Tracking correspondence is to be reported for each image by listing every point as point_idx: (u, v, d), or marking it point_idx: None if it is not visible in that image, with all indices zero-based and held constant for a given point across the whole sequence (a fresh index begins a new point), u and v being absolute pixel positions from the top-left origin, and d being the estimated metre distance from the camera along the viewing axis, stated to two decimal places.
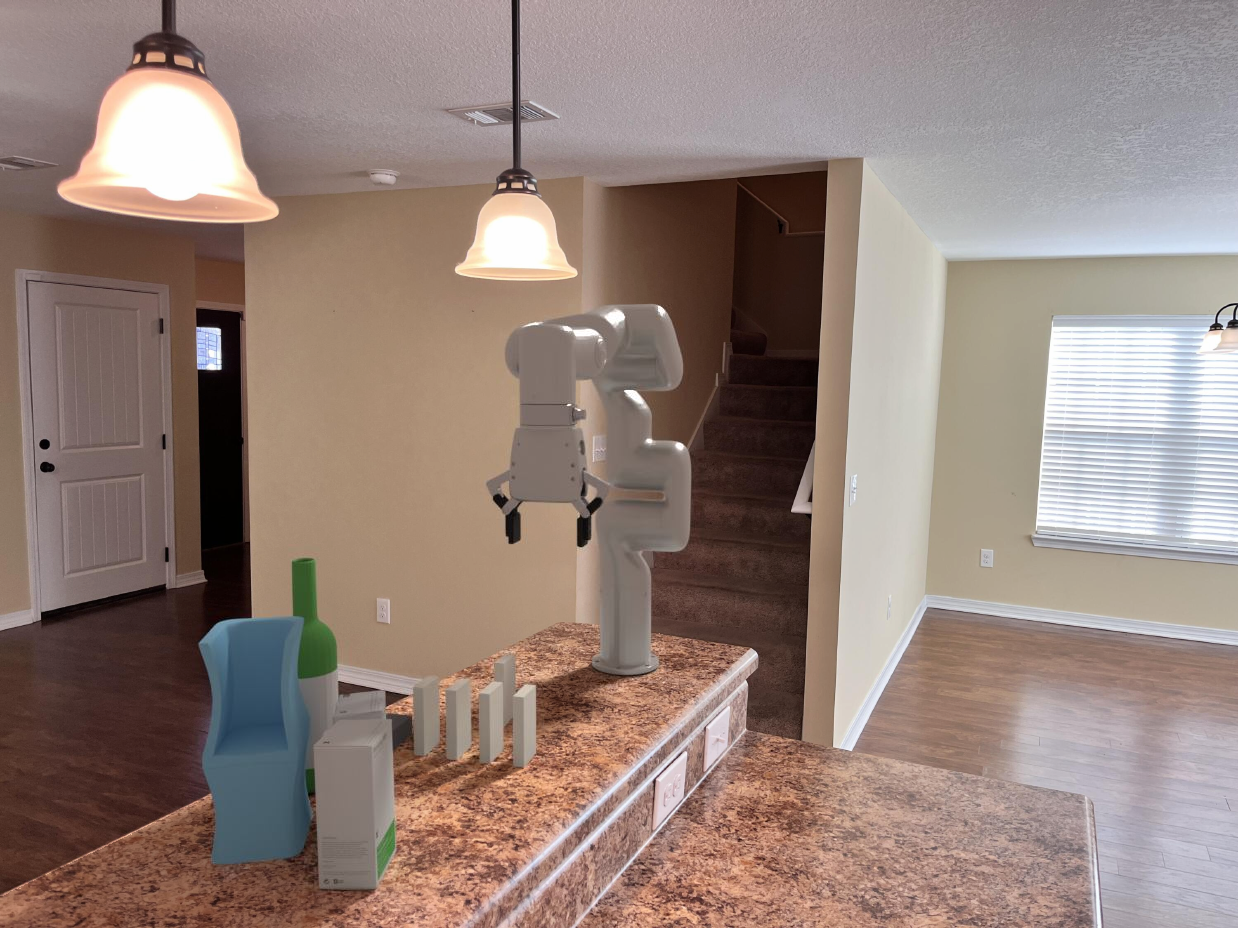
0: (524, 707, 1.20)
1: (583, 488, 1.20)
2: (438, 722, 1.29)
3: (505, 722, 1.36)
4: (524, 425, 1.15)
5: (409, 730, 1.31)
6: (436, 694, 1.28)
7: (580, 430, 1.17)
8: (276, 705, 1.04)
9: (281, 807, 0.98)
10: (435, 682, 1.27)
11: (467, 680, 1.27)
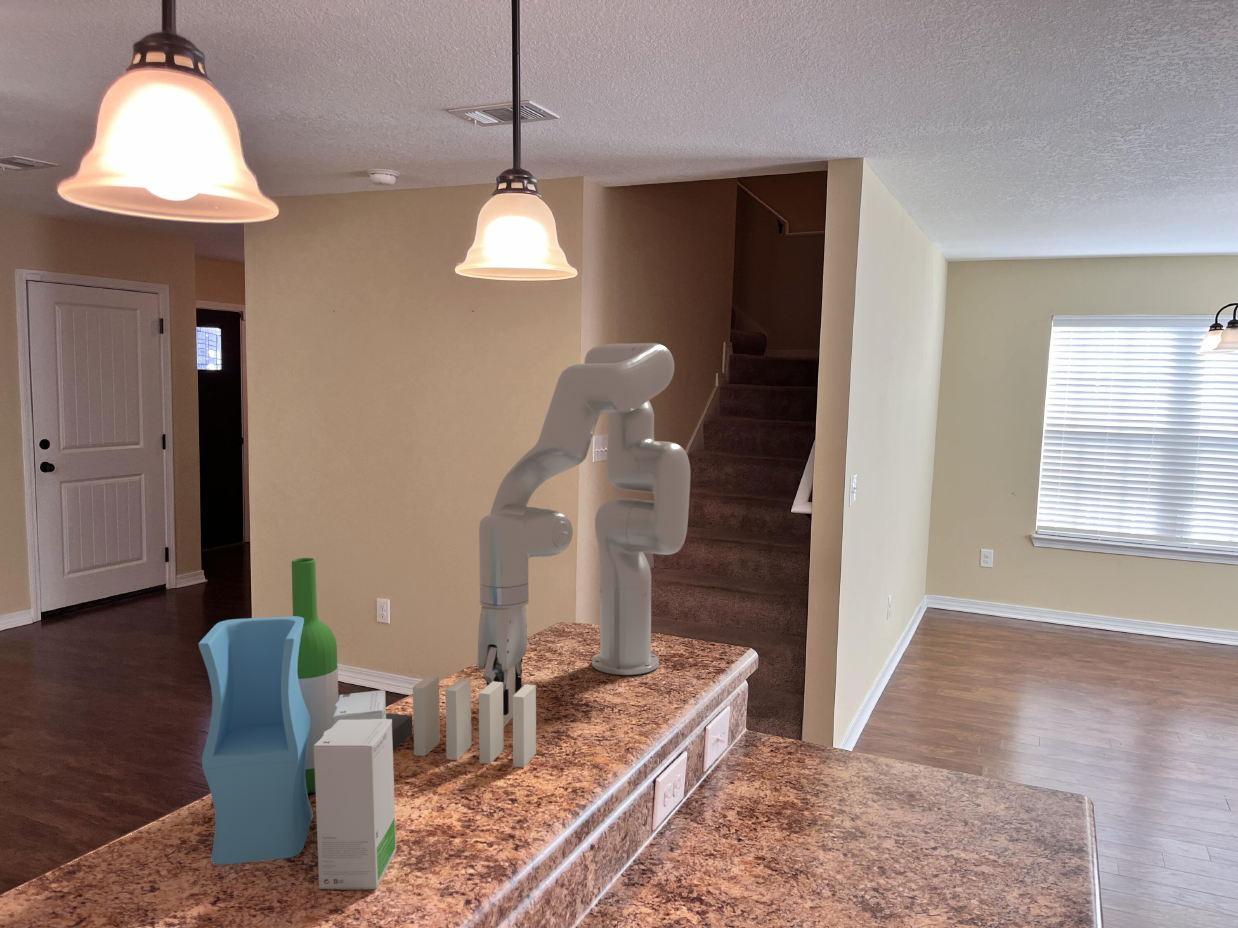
0: (524, 707, 1.20)
1: None
2: (438, 722, 1.29)
3: (505, 722, 1.36)
4: (517, 604, 1.33)
5: (409, 730, 1.31)
6: (436, 694, 1.28)
7: None
8: (276, 705, 1.04)
9: (281, 807, 0.98)
10: (435, 682, 1.27)
11: (467, 680, 1.27)
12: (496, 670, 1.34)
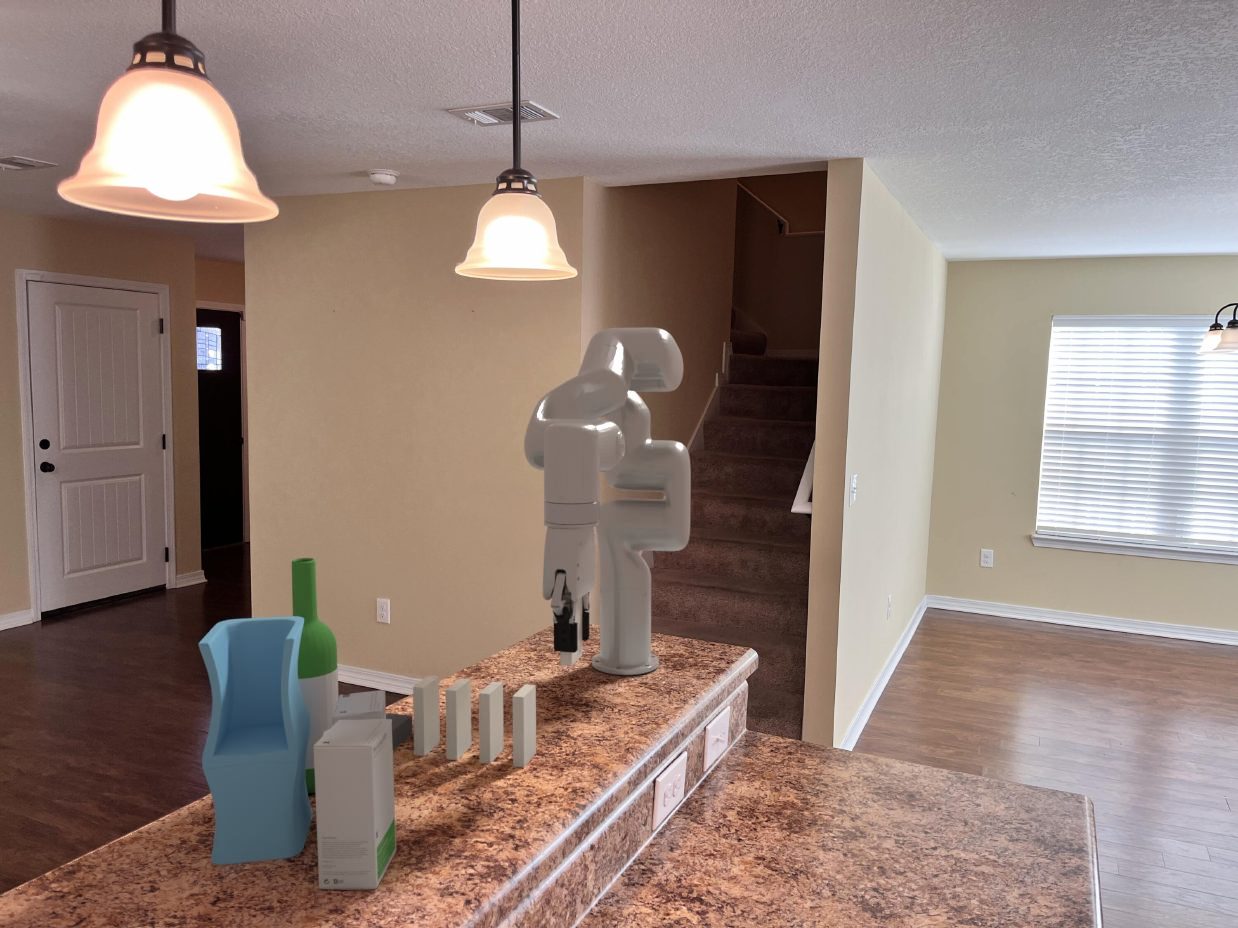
0: (524, 706, 1.20)
1: None
2: (438, 722, 1.29)
3: (572, 661, 1.18)
4: (588, 524, 1.16)
5: (409, 730, 1.31)
6: (436, 694, 1.28)
7: None
8: (276, 705, 1.04)
9: (281, 807, 0.98)
10: (435, 682, 1.27)
11: (467, 680, 1.27)
12: (564, 601, 1.16)
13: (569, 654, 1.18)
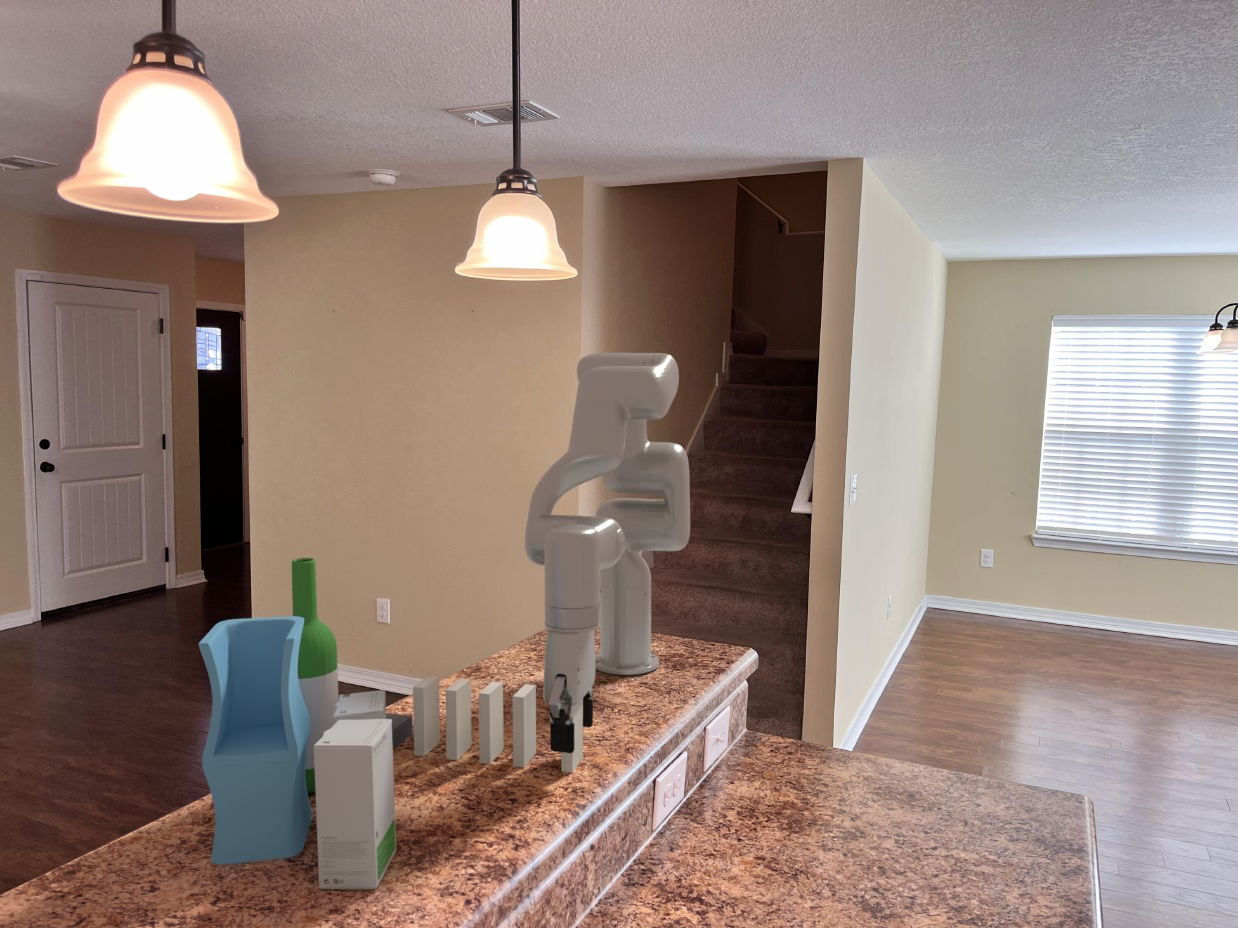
0: (524, 707, 1.20)
1: None
2: (438, 722, 1.29)
3: (573, 768, 1.20)
4: (588, 627, 1.17)
5: (409, 730, 1.31)
6: (436, 694, 1.28)
7: None
8: (276, 705, 1.04)
9: (281, 807, 0.98)
10: (435, 682, 1.27)
11: (467, 680, 1.27)
12: (563, 701, 1.17)
13: (570, 761, 1.19)
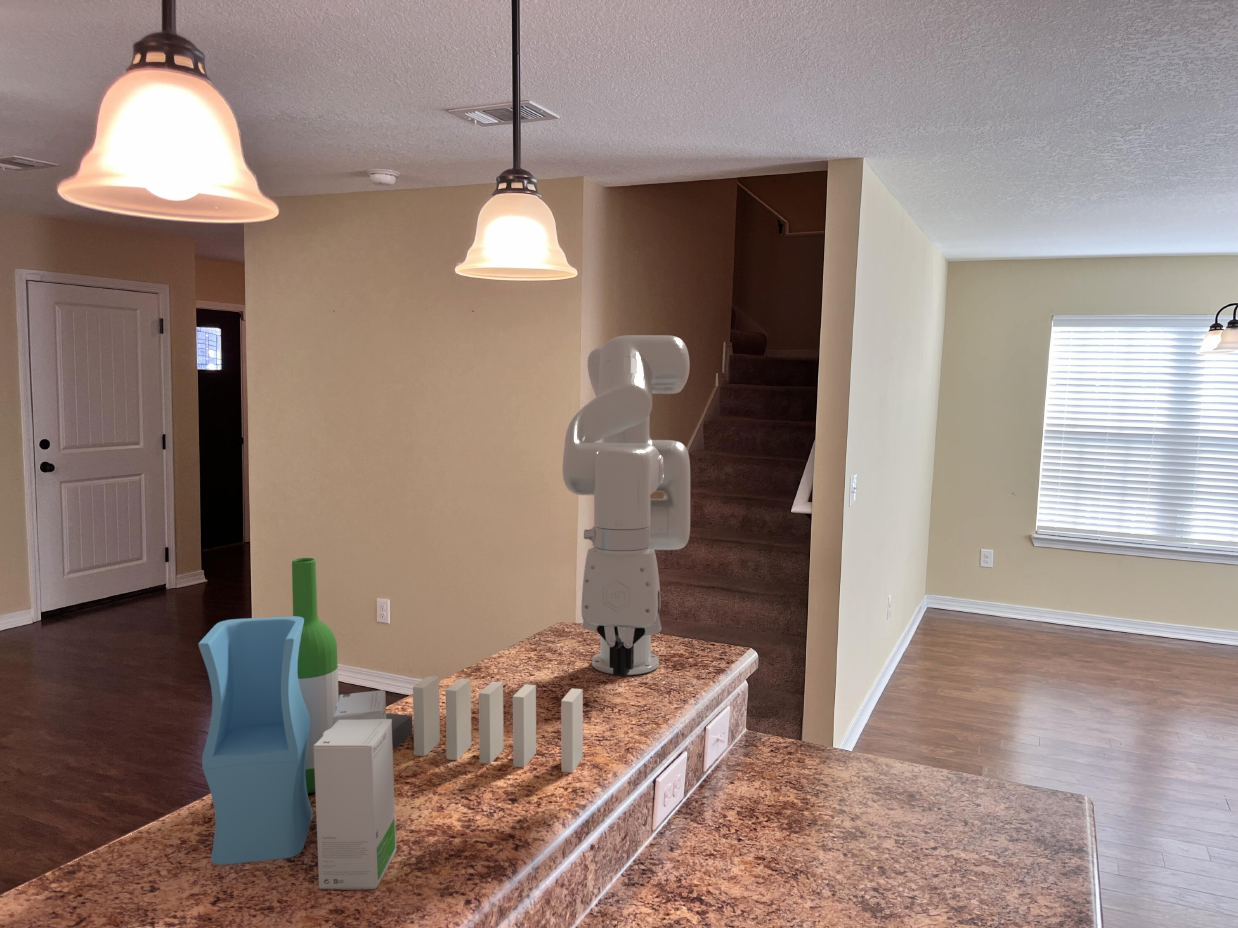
0: (524, 707, 1.20)
1: (586, 613, 1.16)
2: (438, 722, 1.29)
3: (573, 768, 1.20)
4: None
5: (409, 730, 1.31)
6: (436, 694, 1.28)
7: (589, 550, 1.18)
8: (276, 705, 1.04)
9: (281, 807, 0.98)
10: (435, 682, 1.27)
11: (467, 680, 1.27)
12: None
13: (569, 761, 1.19)
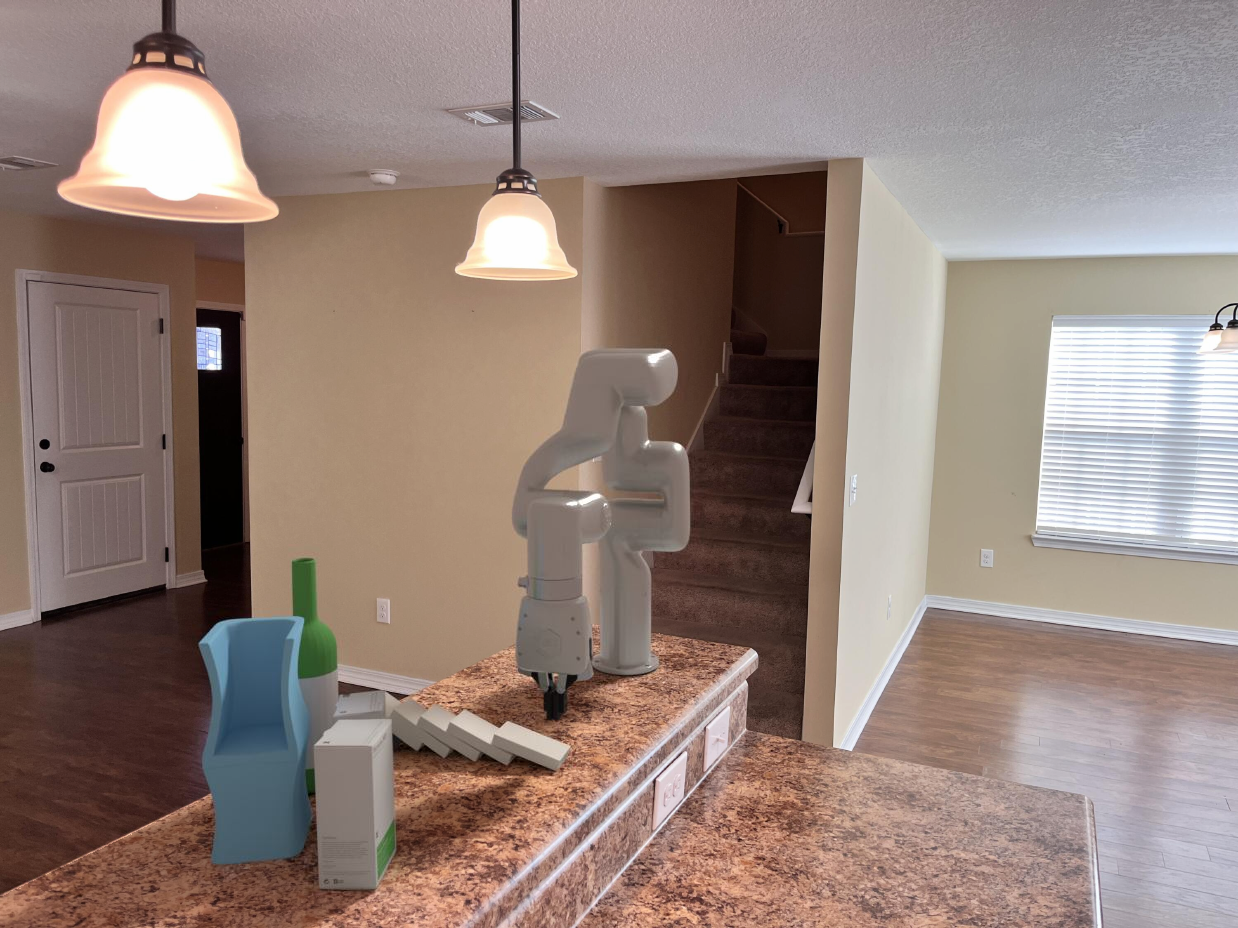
0: (460, 725, 1.23)
1: (519, 660, 1.19)
2: None
3: (558, 758, 1.20)
4: None
5: None
6: (394, 701, 1.30)
7: None
8: (276, 705, 1.04)
9: (281, 807, 0.98)
10: None
11: (407, 699, 1.29)
12: None
13: (548, 758, 1.20)
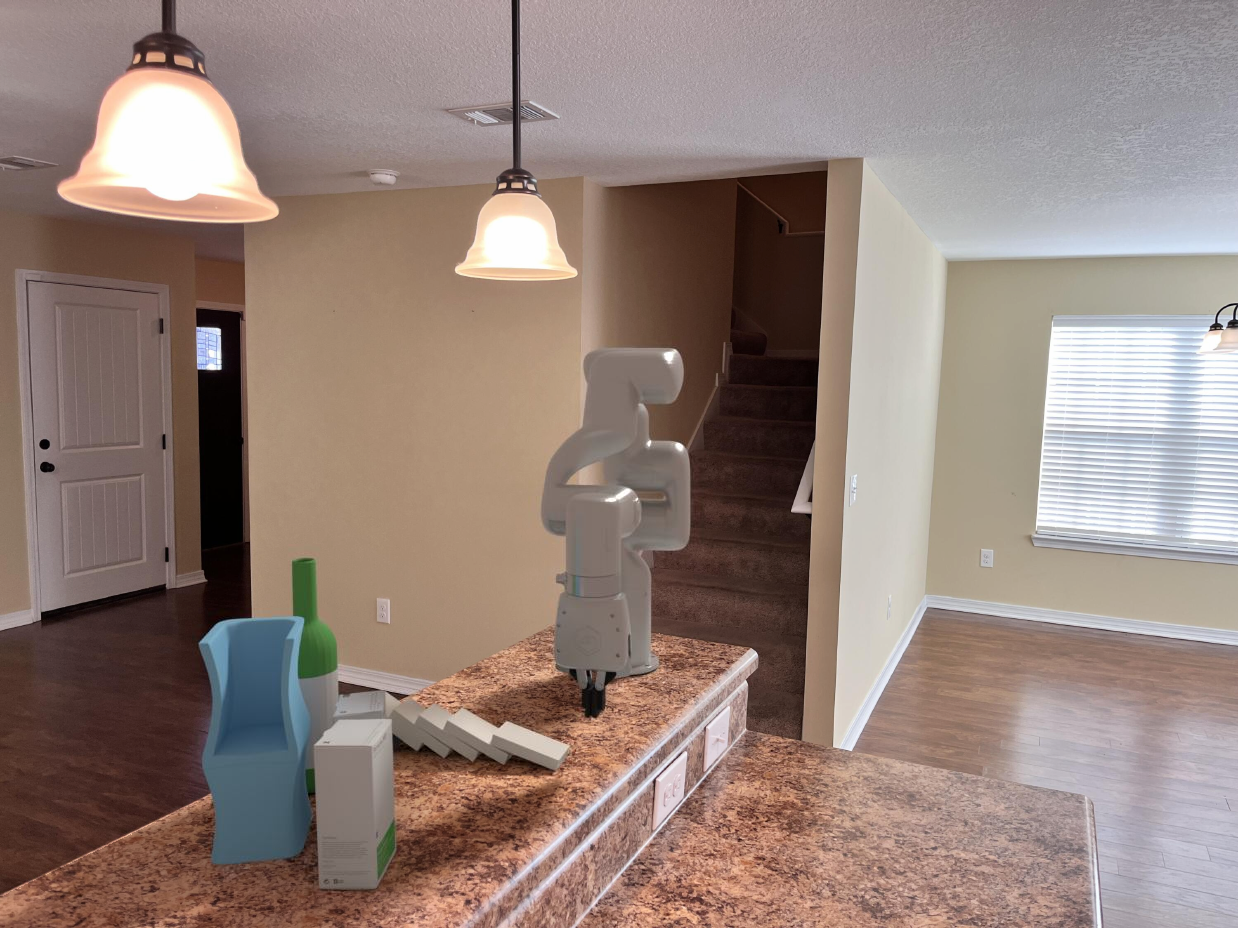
0: (457, 724, 1.23)
1: (558, 657, 1.19)
2: None
3: (557, 757, 1.20)
4: None
5: None
6: (394, 701, 1.30)
7: None
8: (276, 705, 1.04)
9: (281, 807, 0.98)
10: None
11: (407, 699, 1.29)
12: None
13: (547, 758, 1.20)
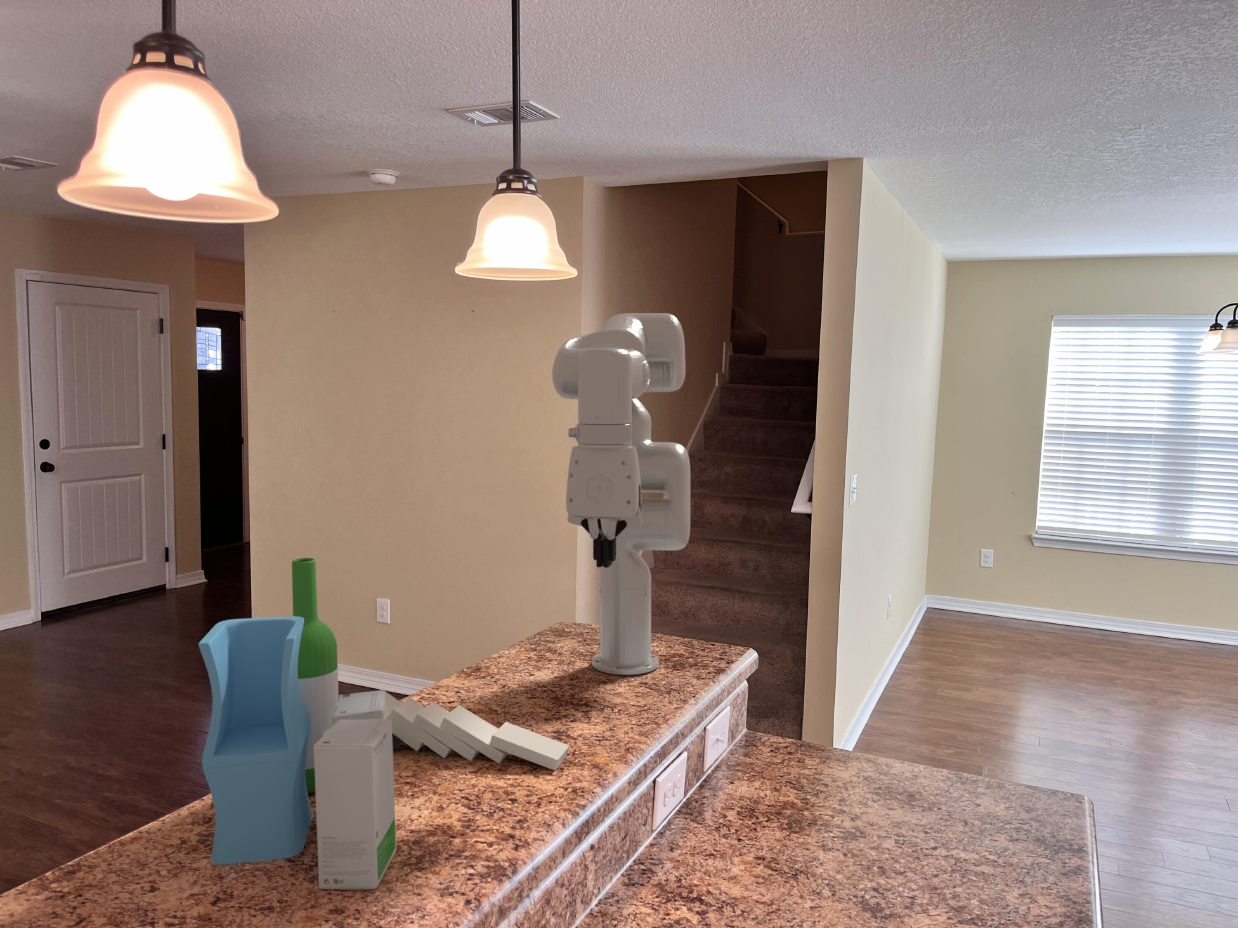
0: (454, 721, 1.24)
1: (570, 506, 1.22)
2: None
3: (556, 757, 1.20)
4: None
5: None
6: (394, 701, 1.30)
7: None
8: (276, 705, 1.04)
9: (281, 807, 0.98)
10: None
11: (407, 699, 1.29)
12: (619, 518, 1.23)
13: (546, 758, 1.20)
